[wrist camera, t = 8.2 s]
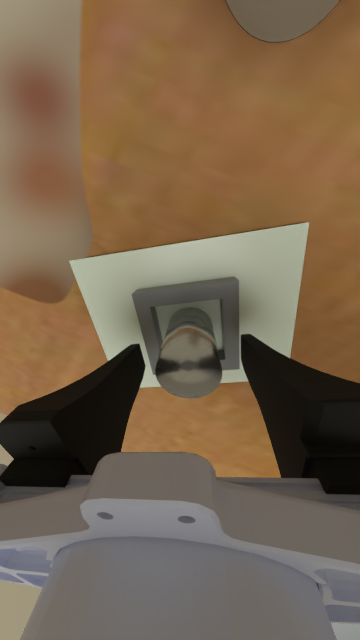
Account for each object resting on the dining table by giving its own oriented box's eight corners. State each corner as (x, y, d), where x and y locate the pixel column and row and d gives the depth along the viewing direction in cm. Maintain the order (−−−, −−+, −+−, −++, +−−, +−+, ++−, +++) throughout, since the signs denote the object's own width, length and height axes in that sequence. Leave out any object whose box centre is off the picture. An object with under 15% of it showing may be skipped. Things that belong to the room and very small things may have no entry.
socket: (304, 222, 12) (324, 219, 10) (284, 375, 18) (295, 390, 16) (72, 260, 14) (55, 263, 13) (120, 385, 20) (113, 399, 18)
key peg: (209, 304, 15) (218, 341, 9) (214, 343, 16) (225, 395, 11) (164, 310, 15) (147, 350, 10) (173, 348, 17) (163, 400, 11)
